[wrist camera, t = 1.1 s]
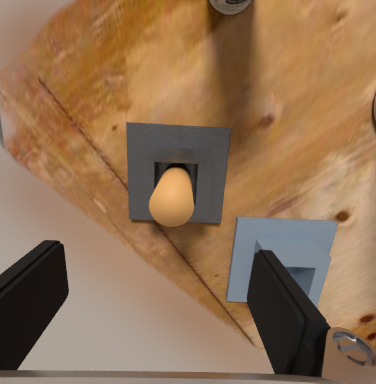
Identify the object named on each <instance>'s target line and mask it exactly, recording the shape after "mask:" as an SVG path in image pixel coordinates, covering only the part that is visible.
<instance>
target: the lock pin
mask: <svg viewBox="0 0 376 384" xmlns="http://www.w3.org/2000/svg"><path fill="white" fill-rule="evenodd" d="M149 210H150V213H151V215H152V217H153V218H154V219H155V220H156V221H157V222H158V223H159V224H161V225H164V226H167V227H177V226H180V225H182V224H184V223H186V222H187V221H188V220H189V219H190V218H191V216H192V214H193V211H194V201H193V193H192V185H191V177H190V172H189V170H188V168H187V167H186V166H184V165H183V164H180V163H174V164H171V165H169V166H168V167H167V168H166V169H165V171H164V173H163V175H162V177H161V179H160V181H159V183H158V185H157V186H156V188H155V190H154V192H153V194H152V196H151V198H150V201H149Z"/></svg>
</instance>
